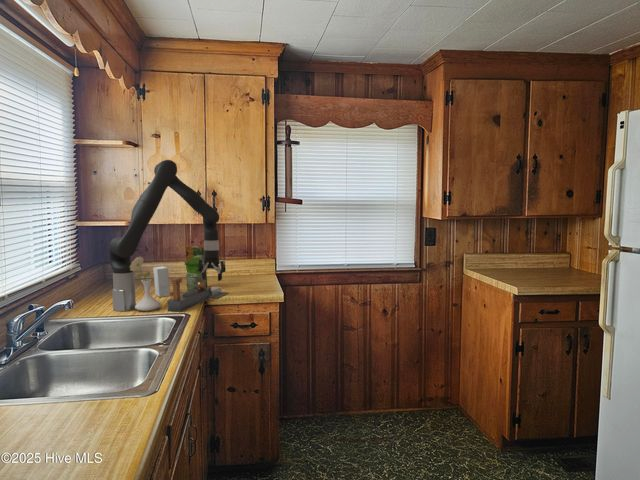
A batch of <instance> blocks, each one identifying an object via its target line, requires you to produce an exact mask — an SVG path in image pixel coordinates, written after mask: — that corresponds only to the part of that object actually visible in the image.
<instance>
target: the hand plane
mask: <svg viewBox="0 0 640 480" xmlns="http://www.w3.org/2000/svg"><path fill="white" fill-rule="evenodd" d="M182 279H183V278H182V277H176V278H173V279H171V285H172V296H173V297H172V298H170V299H167V312H173V313H174V312H175V313H181V312H185V311H186V310H188V309H190V308H192V307H195V306H197V305H199V304H202V303H204V302H206V301H208V300H210V298H209V289H204V281H199V282H197V284H198V289H191V290H186V291H183V292H182V294H181V287H180V286H181V283H182V282H183V280H182Z"/></svg>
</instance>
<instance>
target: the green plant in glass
mask: <svg viewBox="0 0 640 480" xmlns="http://www.w3.org/2000/svg"><path fill="white" fill-rule="evenodd" d="M184 249H185V253H186V254H185V255H184V257H185V258H186V259H185V261H184V265H185V266H186V267H185V269H186V273H185V274H186V275H185V278H186V279H185V280H186V288H187V290H186V291H188V290H191V289H198V284H197V282H199V281H204V289H207V288H208V276H207V275H208V274H207V273H208V272H206V280H203V279H202V272H200V271H199V260H202V259H203V260H205V258H204V245H194V244H193V246H192V245H188V244H185V245H184ZM204 266H205V263H204V264H203V268H204Z"/></svg>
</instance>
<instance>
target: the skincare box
mask: <svg viewBox="0 0 640 480" xmlns="http://www.w3.org/2000/svg"><path fill="white" fill-rule="evenodd" d="M152 269H153V282H154V294H155V296H157V297H159V298H162V297H169V296H170V297H171V288H170V275H169V267H167V266H163V265H161V266H155V267H153V268H152Z"/></svg>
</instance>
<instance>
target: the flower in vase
mask: <svg viewBox="0 0 640 480" xmlns="http://www.w3.org/2000/svg"><path fill="white" fill-rule="evenodd" d="M131 263H132V264H131V265H130V268H131V269H130V270H131V271H134V272H136V271H138V270H139V269H140V272H141V273H138V274H137V275H136V276H135V280H137V279H141V278H142V277H143V278H144V279H141V280H140V281H141V283H142V284H143V288H144V295H143V297H142V298H141V299H139V301H137V302H136V305H135V310H138V311H142V312H143V311H145V312H146V311H147V312H148V311H153V310H157V309H159V308H160V307H161V306H162V303H161V302H160V301H158V299H156V298H154V297H153V296H152V295H151V283H152V281H153V279H152V278H148V277H151V271H148V272H146V273H143V269H142V268H141V267H142V266H143V264H144V257H142V256H138V257H135V258H134V260H133V261H131Z"/></svg>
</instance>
